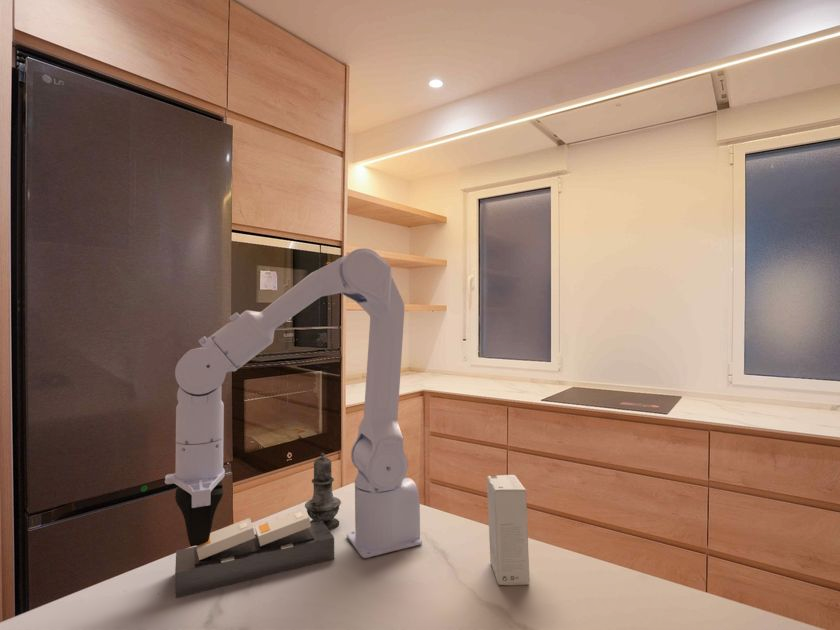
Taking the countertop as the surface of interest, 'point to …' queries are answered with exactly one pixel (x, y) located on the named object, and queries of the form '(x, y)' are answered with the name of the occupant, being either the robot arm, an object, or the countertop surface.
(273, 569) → the power strip
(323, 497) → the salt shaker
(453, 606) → the countertop surface
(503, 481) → the skincare box
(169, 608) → the countertop surface
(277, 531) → the rocker outlet
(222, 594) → the countertop surface
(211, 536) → the white rocker switch
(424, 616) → the countertop surface
